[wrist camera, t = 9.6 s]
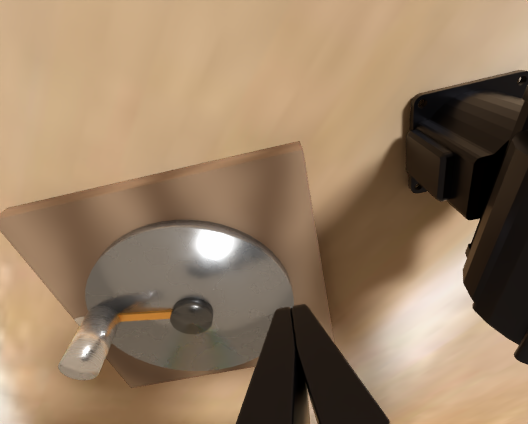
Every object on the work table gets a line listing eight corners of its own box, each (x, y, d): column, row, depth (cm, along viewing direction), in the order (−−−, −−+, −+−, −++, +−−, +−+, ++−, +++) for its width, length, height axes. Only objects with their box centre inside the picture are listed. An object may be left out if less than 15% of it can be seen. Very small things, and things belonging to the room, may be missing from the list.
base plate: (299, 141, 19) (303, 150, 18) (332, 338, 30) (336, 354, 28) (7, 208, 21) (-11, 222, 19) (135, 373, 31) (130, 390, 30)
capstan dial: (293, 213, 20) (306, 265, 16) (291, 354, 28) (299, 415, 23) (55, 226, 20) (1, 282, 15) (121, 365, 27) (97, 428, 23)
